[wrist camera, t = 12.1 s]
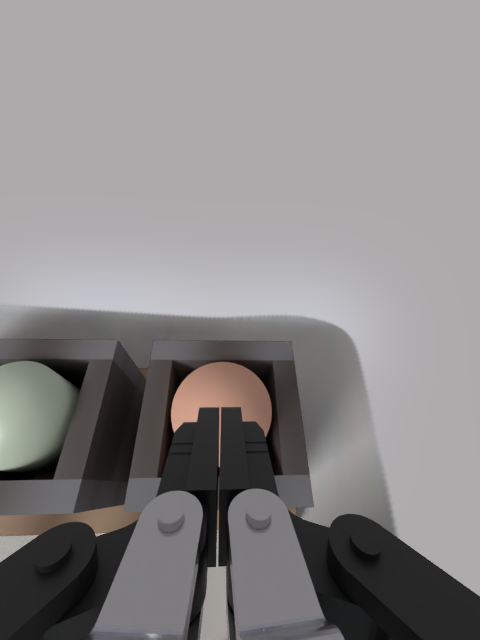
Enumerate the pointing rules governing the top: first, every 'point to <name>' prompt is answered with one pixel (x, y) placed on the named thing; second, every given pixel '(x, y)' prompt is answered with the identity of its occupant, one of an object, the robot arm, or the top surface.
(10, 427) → the sage button
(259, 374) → the button board
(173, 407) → the terracotta button
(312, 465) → the top surface
